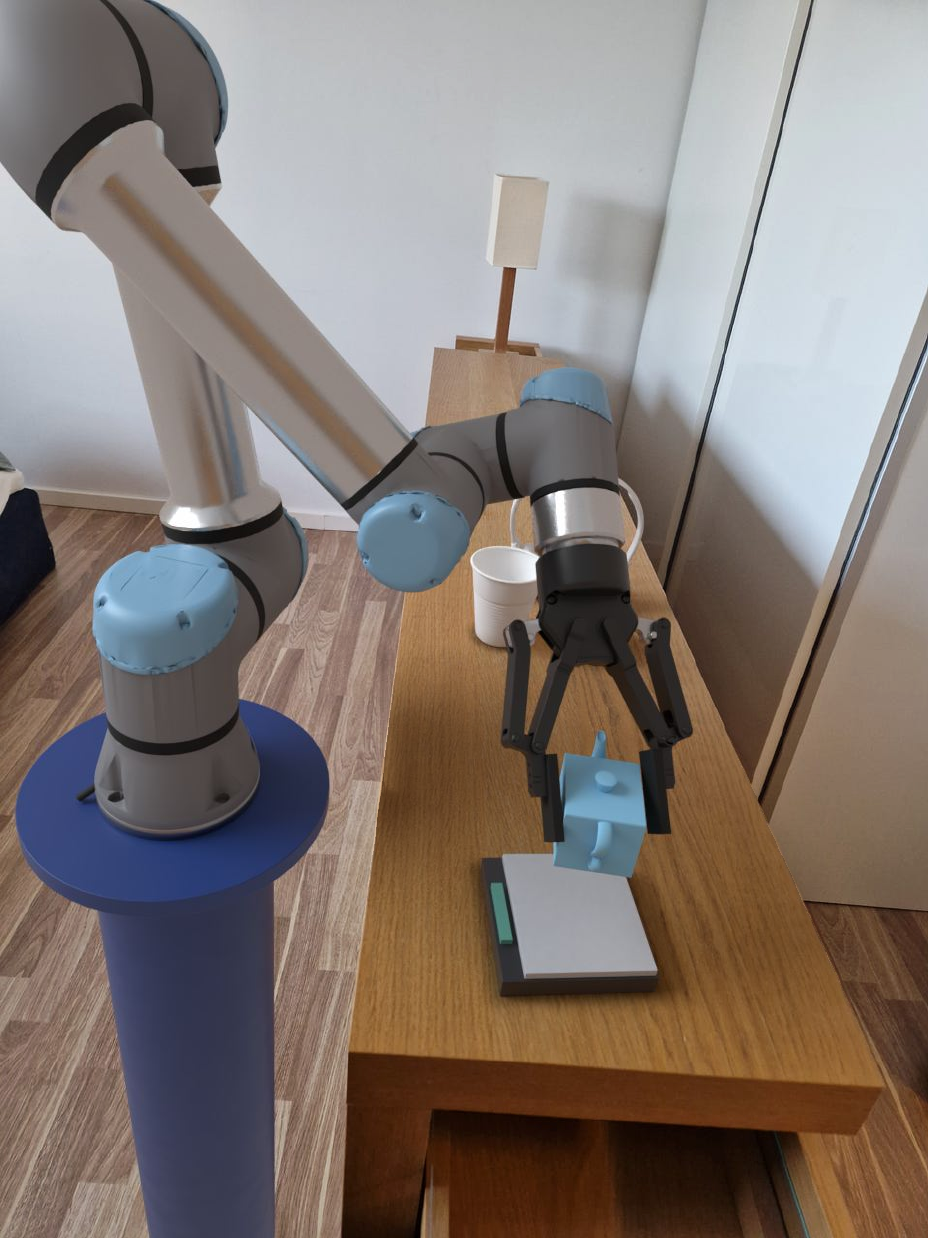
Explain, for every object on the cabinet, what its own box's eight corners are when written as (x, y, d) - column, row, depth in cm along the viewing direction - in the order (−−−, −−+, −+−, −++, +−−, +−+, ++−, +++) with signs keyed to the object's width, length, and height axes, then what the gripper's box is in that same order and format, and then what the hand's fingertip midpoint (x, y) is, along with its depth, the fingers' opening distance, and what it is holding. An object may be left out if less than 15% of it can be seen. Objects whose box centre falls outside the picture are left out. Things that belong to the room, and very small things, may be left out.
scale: (499, 996, 70) (503, 976, 69) (479, 871, 81) (483, 852, 80) (654, 992, 72) (661, 972, 71) (614, 870, 83) (619, 851, 81)
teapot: (552, 783, 77) (567, 716, 73) (621, 793, 77) (639, 727, 73) (551, 889, 67) (567, 818, 63) (630, 901, 66) (651, 830, 62)
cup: (465, 611, 120) (474, 540, 115) (536, 622, 120) (548, 551, 114) (457, 650, 112) (466, 575, 106) (533, 662, 112) (547, 587, 106)
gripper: (675, 566, 78) (707, 828, 73) (447, 566, 73) (465, 846, 68) (716, 540, 71) (755, 828, 66) (467, 538, 66) (488, 849, 61)
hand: (607, 837), depth 67 cm, fingers closed on teapot, 8 cm apart
